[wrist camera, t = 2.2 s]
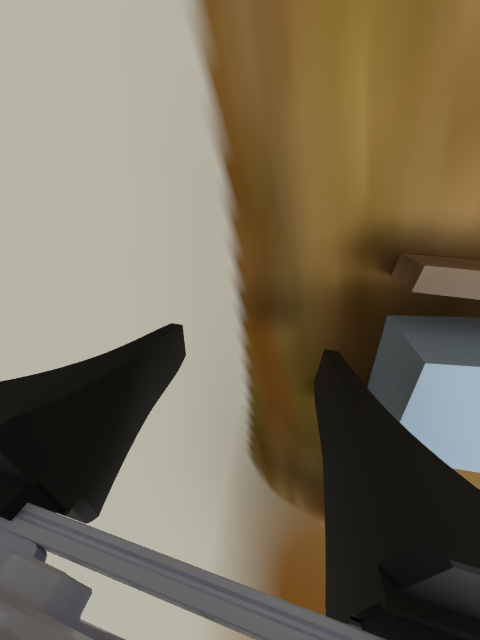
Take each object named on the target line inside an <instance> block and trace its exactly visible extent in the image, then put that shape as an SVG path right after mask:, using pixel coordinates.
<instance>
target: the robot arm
mask: <svg viewBox="0 0 480 640" xmlns="http://www.w3.org/2000/svg"><path fill="white" fill-rule="evenodd" d="M185 356H186V352H185V343H184V335H183V326H182V325H179V324H173V323H172V324H169V325H167V326H164V327H162V328H160V329H158V330H156V331H154V332H152V333H150V334H147V335H145V336H143V337H142V338H139V339H137V340H135V341H133V342H130V343H128V344H126V345H124V346H121V347H119V348H117V349H115V350H112V351H109V352H107V353H104V354H102V355H99V356H96V357H93V358H90V359H88V360H85V361H81V362H79V363H75V364H71V365H68V366H65V367H62V368H58V369H54V370H50V371H46V372H43V373H39V374H34V375H30V376H25V377H21V378H16V379H11V380H6V381H1V382H0V640H125V639H122V638H120V637H118V636H116V635H114V634H112V633H110V632H107V631H105V630H103V629H101V628H99V627H97V626H94V625H92V624H90V623H88V622H86V621H83V620H81V619H80V616H81V613H82V611H83V609H84V607H85V606H86V603H87V602H88V600H89V598H90V596H91V594H92V589H91V588H89V587H87V586H85V585H84V584H82V583H80V582H78V581H76V580H75V579H73V578H71V577H70V576H69V575H67V574H66V573H65V572H63V571H61V570H59V569H56V568H54V567H52V566H50V565H48V564H46V563H45V560H46V557H47V553H46V551H48V552H51V553H53V554H55V555H58V556H60V557H63V558H65V559H68V560H70V561H72V562H74V563H77V564H79V565H81V566H84V567H86V568H88V569H91V570H93V571H95V572H98V573H100V574H103V575H105V576H107V577H110V578H112V579H114V580H117V581H119V582H121V583H124V584H126V585H129V586H131V587H133V588H136V589H138V590H140V591H143V592H145V593H147V594H150V595H152V596H154V597H157V598H159V599H162V600H164V601H166V602H169V603H171V604H174V605H176V606H178V607H181V608H183V609H185V610H187V611H190V612H192V613H195V614H197V615H199V616H202V617H204V618H206V619H209V620H211V621H213V622H216V623H218V624H221V625H223V626H225V627H228V628H230V629H233V630H235V631H237V632H239V633H242V634H244V635H246V636H249V637H251V638H253V639H256V640H480V490H479V489H477V488H476V487H475V486H474V485H472V484H471V483H470V482H468V481H467V480H466V479H465V478H463V477H462V476H461V475H460V474H458V473H457V472H456V471H455V470H453V469H452V468H451V467H450V466H448V465H447V464H446V463H445V462H443V461H442V460H441V459H440V458H439V457H438V456H436V455H435V454H434V453H433V452H432V451H431V450H429V449H428V448H427V447H426V446H425V445H424V444H422V443H421V442H420V441H419V440H418V439H417V438H416V437H415V436H414V435H412V434H411V433H410V432H409V431H408V430H407V429H406V428H405V427H404V426H403V425H402V424H401V423H400V422H399V421H398V420H397V419H396V418H395V417H394V416H393V415H392V414H391V413H390V412H389V411H388V410H387V409H386V408H385V407H384V406H383V405H382V404H381V403H380V402H379V401H378V400H377V398H376V397H375V396H374V395H373V394H372V393H371V392H370V391H369V389H368V388H367V387H366V386H365V385H364V384H363V382H362V381H361V380H360V379H359V378H358V376H357V375H356V374H355V373H354V371H353V370H352V369H351V367H350V366H349V365H348V364H347V362H346V361H345V360H344V358H343V357H342V356H341V354H340V353H339V352H337V351H331V350H325V349H324V352H323V356H322V359H321V362H320V365H319V368H318V371H317V374H316V377H315V380H314V381H315V406H316V413H317V420H318V427H319V434H320V440H321V447H322V456H323V473H324V497H325V536H326V538H325V539H326V602H325V603H326V604H325V605H326V606H325V607H326V616H324V615H321V614H318V613H316V612H313V611H311V610H308V609H305V608H303V607H300V606H297V605H295V604H292V603H289V602H287V601H284V600H282V599H279V598H276V597H274V596H271V595H268V594H266V593H263V592H261V591H258V590H256V589H253V588H250V587H248V586H245V585H242V584H240V583H237V582H235V581H232V580H229V579H227V578H224V577H222V576H219V575H216V574H213V573H211V572H208V571H206V570H203V569H201V568H198V567H195V566H193V565H190V564H187V563H185V562H182V561H180V560H177V559H174V558H172V557H169V556H167V555H164V554H161V553H158V552H156V551H153V550H151V549H148V548H146V547H143V546H140V545H138V544H135V543H133V542H130V541H127V540H124V539H122V538H119V537H117V536H114V535H112V534H109V533H106V532H104V531H101V530H99V529H96V528H93V527H91V526H88V525H85V524H83V523H89V522H91V521H93V520H94V519H95V518H97V517H98V516H99V514H100V512H101V509H102V507H103V504H104V502H105V500H106V498H107V496H108V493H109V491H110V489H111V487H112V485H113V482H114V480H115V478H116V476H117V474H118V472H119V470H120V468H121V466H122V464H123V462H124V460H125V458H126V455H127V453H128V452H129V450H130V448H131V446H132V444H133V442H134V440H135V438H136V436H137V434H138V432H139V431H140V429H141V427H142V425H143V423H144V422H145V420H146V418H147V416H148V415H149V413H150V411H151V410H152V408H153V406H154V405H155V404H156V402H157V401H158V399H159V398H160V396H161V395H162V393H163V392H164V391H165V389H166V388H167V386H168V385H169V384H170V382H171V380H172V379H173V378H174V376H175V375H176V373H177V372H178V370H179V368H180V366H181V364H182V362H183V360H184V358H185ZM57 513H59V514H62V515H64V516H67V517H70V518H73V519H75V520H78V521H81V522H83V523H80V522H77V521H75V520H72V519H70V518H67V517H64V516H62V515H59V514H57ZM45 550H46V551H45Z"/></svg>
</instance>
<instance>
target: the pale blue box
mask: <svg viewBox="0 0 480 640" xmlns="http://www.w3.org/2000/svg"><path fill="white" fill-rule="evenodd" d="M367 388H368V389H369V391H370V392H371V393H372V394H373V395H374V396H375V397H376V398H377V400H378V401H379V402H380V403H381V404H382V405H383V406H384V407H385V408H386V409H387V410H388V411H389V412H390V413H391V414H392V415H393V416H394V417H395V418H396V419H397V420H398V421H399V422H400V423H401V424H402V425H403V426H404V427H405V428H406V429H407V430H408V431H409V432H410V433H411V434H412V435H414V436H415V437H416V438H417V439H418V440H419V441H420V442H421V443H422V444H424V445H425V446H426V447H427V448H428V449H429V450H431V451H432V452H433V453H434V454H435V455H436V456H438V457H439V458H440V459H441V460H442V461H443V462H445V463H446V464H447V465H448V466H450V467H451V468H455V469H461V470H467V471H473V472H479V473H480V317H444V316H398V315H388V316H387V319H386V323H385V326H384V330H383V333H382V337H381V340H380V344H379V347H378V351H377V355H376V358H375V362H374V365H373V369H372V372H371V376H370V379H369V383H368V386H367Z"/></svg>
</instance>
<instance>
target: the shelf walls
mask: <svg viewBox="0 0 480 640" xmlns="http://www.w3.org/2000/svg"><path fill="white" fill-rule="evenodd" d="M391 276H393V277H394V278H395V279H396V280H398V281H399V282H400V283H401V284H403V285H404V286H405V287H406V288H408V289H409V290H410V291H411V292H417V293H426V294H434V295H443V296H451V297H460V298H468V299H477V300H480V260H472V259H460V258H449V257H438V256H427V255H416V254H405V253H401V254H400V256H399V259H398V261H397V263H396V265H395V268H394V270H393V272H392V275H391Z"/></svg>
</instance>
